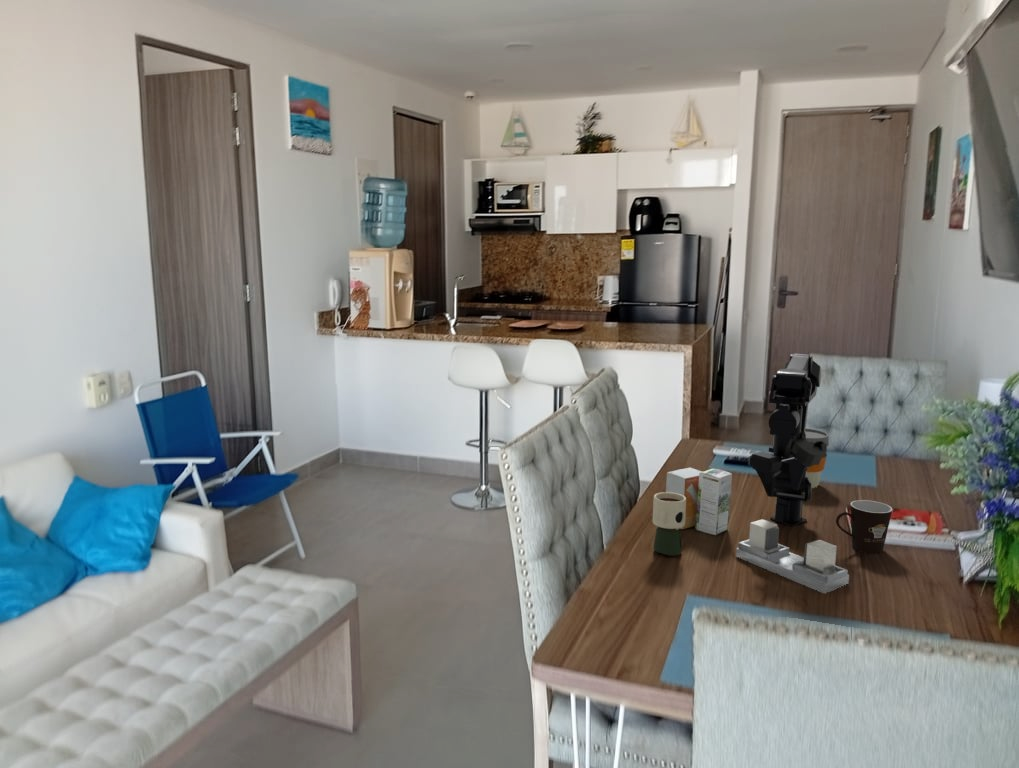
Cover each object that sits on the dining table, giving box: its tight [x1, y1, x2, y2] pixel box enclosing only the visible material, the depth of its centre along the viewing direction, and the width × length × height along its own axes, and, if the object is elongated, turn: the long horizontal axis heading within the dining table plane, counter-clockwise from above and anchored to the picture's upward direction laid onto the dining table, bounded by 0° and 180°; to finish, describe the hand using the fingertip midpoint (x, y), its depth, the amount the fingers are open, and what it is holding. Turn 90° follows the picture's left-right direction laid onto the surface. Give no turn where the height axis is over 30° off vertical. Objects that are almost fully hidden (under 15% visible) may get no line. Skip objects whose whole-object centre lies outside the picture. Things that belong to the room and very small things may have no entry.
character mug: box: [652, 491, 686, 557], centre depth 173 cm, size 11×7×13 cm, turn 152°
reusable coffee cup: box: [805, 427, 830, 489], centre depth 223 cm, size 13×13×15 cm
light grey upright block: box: [748, 519, 780, 553], centre depth 170 cm, size 4×5×6 cm
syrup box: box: [694, 468, 733, 536], centre depth 186 cm, size 6×6×14 cm
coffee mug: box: [835, 499, 893, 554], centre depth 177 cm, size 12×9×10 cm
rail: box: [735, 538, 850, 595], centre depth 164 cm, size 8×22×8 cm, turn 34°
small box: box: [665, 466, 703, 530], centre depth 191 cm, size 8×6×13 cm
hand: (782, 492), depth 178 cm, fingers open, 9 cm apart
